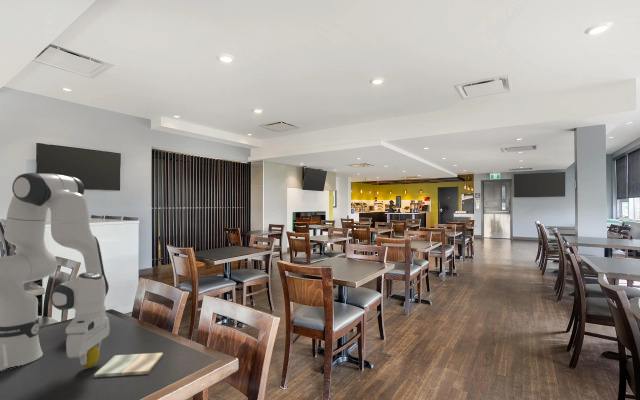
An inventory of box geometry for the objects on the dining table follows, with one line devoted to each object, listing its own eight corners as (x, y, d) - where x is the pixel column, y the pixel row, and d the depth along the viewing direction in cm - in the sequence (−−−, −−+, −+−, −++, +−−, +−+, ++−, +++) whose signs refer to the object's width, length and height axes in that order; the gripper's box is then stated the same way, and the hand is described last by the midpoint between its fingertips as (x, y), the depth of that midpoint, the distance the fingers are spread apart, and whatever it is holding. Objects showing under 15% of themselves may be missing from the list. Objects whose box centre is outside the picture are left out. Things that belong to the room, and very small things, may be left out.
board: (94, 377, 108) (94, 374, 109) (115, 358, 122) (115, 355, 122) (148, 373, 111) (148, 370, 111) (162, 355, 125) (162, 352, 125)
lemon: (89, 372, 112) (89, 349, 112) (76, 371, 113) (76, 347, 113) (103, 365, 117) (103, 342, 117) (90, 363, 118) (90, 341, 118)
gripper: (96, 310, 125) (96, 347, 125) (62, 330, 105) (61, 374, 104) (114, 309, 126) (114, 346, 126) (83, 329, 106) (82, 372, 105)
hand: (90, 359), depth 115 cm, fingers closed on lemon, 5 cm apart
